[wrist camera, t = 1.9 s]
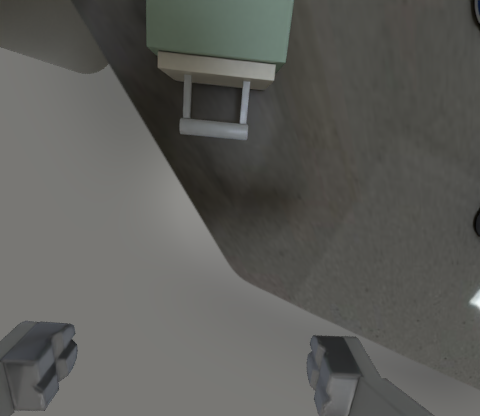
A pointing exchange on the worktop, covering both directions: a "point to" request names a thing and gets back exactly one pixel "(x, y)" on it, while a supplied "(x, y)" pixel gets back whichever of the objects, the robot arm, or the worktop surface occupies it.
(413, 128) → the worktop surface
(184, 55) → the drawer
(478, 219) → the streaming box
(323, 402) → the robot arm
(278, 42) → the cabinet
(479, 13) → the beverage bottle
